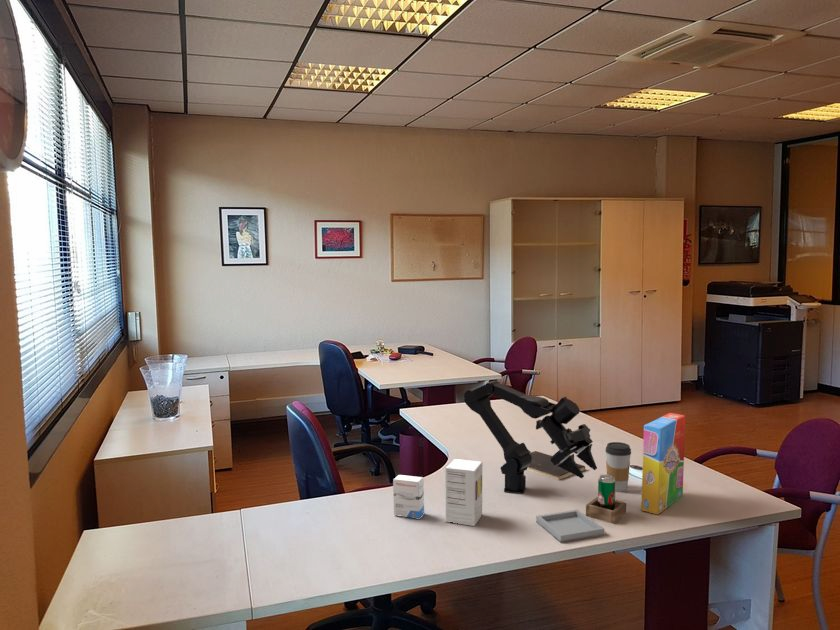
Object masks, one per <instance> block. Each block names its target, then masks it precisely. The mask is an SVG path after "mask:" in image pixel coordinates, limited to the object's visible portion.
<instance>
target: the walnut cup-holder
mask: <svg viewBox="0 0 840 630" xmlns="http://www.w3.org/2000/svg"><path fill="white" fill-rule="evenodd" d="M627 507H628V506H627V502H625V501H621V500H617V499H615V509H614V510H613V511H612V510H609V509H605V508H601V507H598V496H596V497H595V498H593V499H592V500H591V501H590V502H588V503H586V504H585V515H586V516H587V517H589V518H590V519H596V520H599V521H603V522H606V523H610V524H614V525H615V524H616V523H617V522H618V521H620V520H621V519H622V518H623V517H624V515H625V516H626V515H627Z"/></svg>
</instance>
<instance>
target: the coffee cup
mask: <svg viewBox="0 0 840 630" xmlns="http://www.w3.org/2000/svg"><path fill="white" fill-rule="evenodd" d="M631 454H632V448H631V446H630V445H629V444H628V443H626V442H620V441H618V442H617V441H611V442H608V443H607V445H606V447H605V457H606V461H605V463H606V475H611V476H613V477H614V479H615V481H616V483H615V492H618V493H619V492H626V491H627V489H628V482H629V477H630V465H631Z"/></svg>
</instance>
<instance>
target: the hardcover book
mask: <svg viewBox="0 0 840 630" xmlns="http://www.w3.org/2000/svg"><path fill="white" fill-rule="evenodd" d="M530 452H531V453H530V454H531V457H532V461H531V464H530V465H529V466H528V468H527V469H528V471H530V470H531V471H530V472H533V471H534V472H533V473H536V474H539V475H542V476H545V477H547V476H548V478H550V477H551V478H550V479H554V480H557V481H559V480H562V479H564V478H567V477H570V476H572V475H574V474H572V473H571V472H569V471H567V470H565V469H563V468H560V467H557V466H558V465H559V464H560V463H559V464H558V465H556V466H554V465H553V464H552V463H551V457H552V456H553V455H550V454H548V453H547V454H546V453H544V452H541V451H536V450H535V451H530ZM576 464H577V465H578V467H579V469H580V470H581V472H583V471H586V466H585V465H583V464H580V463H576Z"/></svg>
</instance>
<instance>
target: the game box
mask: <svg viewBox="0 0 840 630" xmlns="http://www.w3.org/2000/svg"><path fill="white" fill-rule="evenodd" d="M685 438H686V415H685V414H679V413H673V412H668V413H667V414H664V415H662V416H661V417H658V418H657V419H655V420H653V421H651V422H648V423H646V424H644V426H643V441H642V442H643V444H642V446H643V447H642V448H643V449H642V451H643V452H642V474H641V475H642V476H641V499H640V500H641V502H640V503H641V505H640V507H641V508H640V510H641V511H643V512H647V513H650V514H654V515H659V514H661V513H662V512H663V511H665V510H666V509H668V507H670V506H672V505H673V504H674V503H676V502H677V501H678V500H679V499H681V498H682V497H683V494H684V470H685V469H684V467H685V466H684V465H685V464H684V463H685V442H686V441H685Z"/></svg>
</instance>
